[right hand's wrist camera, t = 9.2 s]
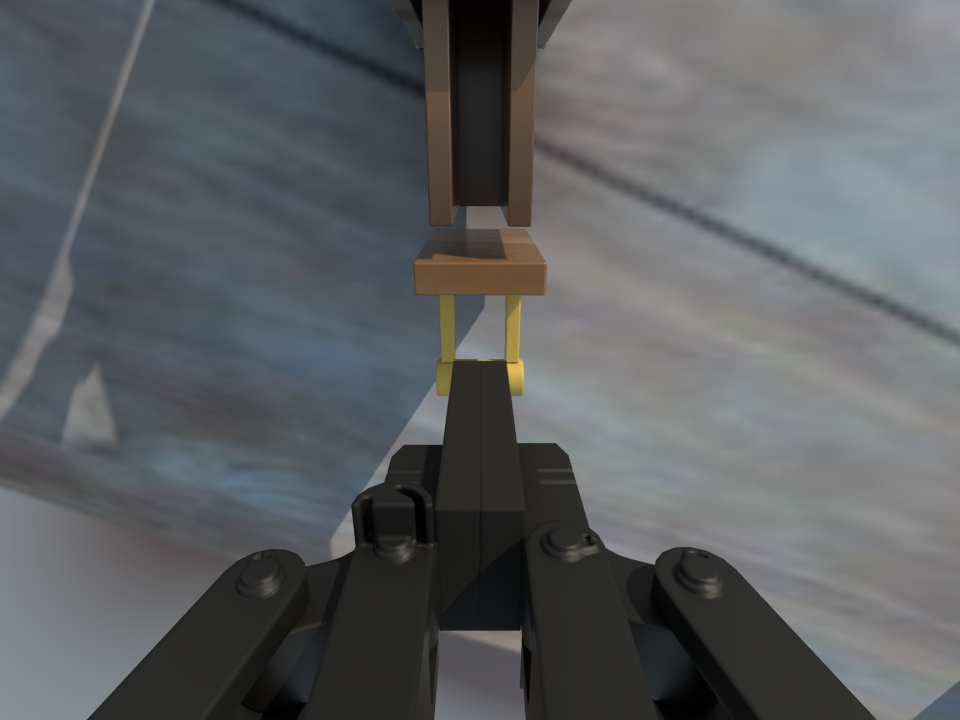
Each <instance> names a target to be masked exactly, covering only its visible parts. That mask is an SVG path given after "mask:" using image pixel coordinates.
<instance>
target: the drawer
mask: <svg viewBox="0 0 960 720" xmlns="http://www.w3.org/2000/svg"><path fill="white" fill-rule="evenodd" d="M422 14H423V44H424V74H425V104H426V133H427V163H428V193H429V223H430V226H452V224H453V222H454V219H455V217H456V214H457V212H458V209H459V207H460V206H501V209H502V212H503V214H504V217H505V219H506V222H507V224H508V226H509V227H529V226H531V210H532V182H533V154H534V126H535V98H536V70H537V42H538V14H539V0H422ZM413 265H414V287H415V294H416V295H439V299H440V334H441V359H439V360H438V361H437V369H436V388H437V395H438V396H449V392H450V384H451V376H452V368H453V361H507V368H508V376H509V384H510V392H511V396H522V395H523V389H524V367H523V361H522V360H521V359H519V340H520V307H521V295H545V293H546V273H547V263H546V261H545V260H544V258H543V257H542V255H541V253H540V252H539V250H538V248H537V247H536V245H535V243H534V242H533V240H532V239H531V237H530V235H529V234H528V232H527V230H525V229H435V230H434V231H433V232H432V234H431V236H430V237H429V239H428V241H427V242H426V244H425V246H424V247H423V249H422V250H421V252H420V254H419V255H418V257H417V259H416V260H415V262H414V264H413ZM454 295H506V317H505V359H455V306H454Z"/></svg>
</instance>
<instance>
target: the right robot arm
mask: <svg viewBox="0 0 960 720" xmlns="http://www.w3.org/2000/svg"><path fill="white" fill-rule="evenodd" d="M351 508H352V517H353V526H354V535H355V544H356V546H355V550H353V551H352V552H350V553H348V554H346V555H345V556H343V557H340V558H337V559H334V560H331V561H328V562H324V563H320V564H316V565H311V566H307V567H305V563H304V561H303V560H302V559H301V558H300V557H299V555H298V554H295V553H293V552H290V551H288V550H280V549H269V550H265V551H261V552H256V553H253V554H251V555H249V556H247V557H245V558H242V559H240V560H238V561H237V562H236V563H234V564H233V565H232V566H231V567H230V568H228V569H227V570H226V571H225V572H224V573H223V574H222V575H221V576H220V577H219V578H218V579H217V580H216V581H215V582H214V584H213V585H212V586H211V587H210V588H209V589H208V590H207V591H206V592H205V593H204V594H203V595H202V596H201V598H200V599H199V600H198V601H197V602H196V603H195V604H194V605H193V606H192V607H191V608H190V609H189V610H188V612H187V613H186V614H185V615H184V616H183V617H182V618H181V619H180V620H179V621H178V622H177V623H176V624H175V626H174V627H173V628H172V629H171V630H170V631H169V632H168V633H167V634H166V635H165V636H164V637H163V638H162V639H161V641H160V642H159V643H158V644H157V645H156V646H155V647H154V648H153V649H152V650H151V651H150V652H149V653H148V655H147V656H146V657H145V658H144V659H143V660H142V661H141V662H140V663H139V664H138V665H137V666H136V667H135V668H134V670H133V671H132V672H131V673H130V674H129V675H128V676H127V677H126V678H125V679H124V680H123V681H122V682H121V684H120V685H119V686H118V687H117V688H116V689H115V690H114V691H113V692H112V693H111V694H110V695H109V697H108V698H107V699H106V700H105V701H104V702H103V703H102V704H101V705H100V706H99V707H98V708H97V709H96V710H95V712H94V713H93V714H92V715H91V716H90V717H89V718H88V719H87V720H434V714H435V702H436V689H437V676H438V663H439V649H438V632H439V630H440V631H521V629H522V648H521V673H520V688H524V701H525V714H526V720H876V719H875V718H874V716H873V715H872V714H871V713H870V712H869V711H868V710H867V709H866V708H865V707H864V706H863V705H862V704H861V703H860V702H859V700H858V699H857V698H856V697H855V696H854V695H853V694H852V693H851V692H850V691H849V690H848V689H847V688H846V687H845V685H844V684H843V683H842V682H841V681H840V680H839V679H838V678H837V677H836V676H835V675H834V674H833V673H832V672H831V671H830V669H829V668H828V667H827V666H826V665H825V664H824V663H823V662H822V661H821V660H820V659H819V658H818V657H817V656H816V654H815V653H814V652H813V651H812V650H811V649H810V648H809V647H808V646H807V645H806V644H805V643H804V642H803V641H802V640H801V638H800V637H799V636H798V635H797V634H796V633H795V632H794V631H793V630H792V629H791V628H790V627H789V626H788V625H787V623H786V622H785V621H784V620H783V619H782V618H781V617H780V616H779V615H778V614H777V613H776V612H775V611H774V610H773V609H772V607H771V606H770V605H769V604H768V603H767V602H766V601H765V600H764V599H763V598H762V597H761V596H760V595H759V594H758V592H757V591H756V590H755V589H754V588H753V587H752V586H751V585H750V584H749V583H748V582H747V581H746V580H745V579H744V578H743V576H742V575H741V574H740V573H739V572H738V571H737V570H736V569H735V568H734V567H732V566H731V565H730V564H729V563H727V562H726V561H725V560H724V559H722V558H720V557H718V556H716V555H714V554H712V553H710V552H708V551H705V550H700V549H696V548H692V547H677V548H672V549H670V550H667V551H665V552H663V553H662V554H661V555H660V556H659V557H658V559H657V560H656V562H655V565H653V564H649V563H645V562H641V561H636V560H632V559H629V558H626V557H623V556H620V555H618V554H616V553H614V552H612V551H610V550H608V549H607V548H605V546H604V544H603V542H602V540H601V539H600V537H599V535H598V534H596V533H595V532H594V531H592V530H591V529H590V528H589V525H588V521H587V518H586V514H585V511H584V508H583V504H582V501H581V497H580V494H579V490H578V487H577V484H576V480H575V477H574V473H573V472H572V466H571V463H570V459H569V456H568V455H567V454H566V453H565V452H564V451H563V450H562V449H561V448H560V447H559V446H558V445H557V444H556V443H517V440H516V432H515V424H514V416H513V408H512V400H511V392H510V384H509V376H508V368H507V361H453V368H452V376H451V384H450V392H449V400H448V408H447V416H446V424H445V432H444V440H443V445H404V446H402V447H401V448H400V449H399V450H398V451H397V452H396V453H395V454H394V455H393V456H392V458H391V461H390V465H389V468H388V474H387V475H386V479H385V482H384V483H381V484H379V485H376V486H373V487H370V488H368V489H367V490H365V491H364V492H362V493H361V494H359V495H358V496H357V497H356V499H355V500H354V502H353V503H352V505H351Z"/></svg>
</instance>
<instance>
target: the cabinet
mask: <svg viewBox="0 0 960 720" xmlns="http://www.w3.org/2000/svg"><path fill="white" fill-rule="evenodd" d="M389 1H390V3H391V4H392V6H393V8H394V9H395V11H396V13H397V15H398V16H399V18H400V20H401V21H402V23H403V25H404V26H405V28H406V30H407V31H408V33H409V35H410V37H411V38H412V40H413V42H414V45H415V46H416V48H417V49H419V48H424V44H423V14H422V0H389ZM571 1H572V0H539V14H538V42H537V48H541V49H544V48H545V46H546V44H547V41H548V40H549V38H550V36H551V35H552V33H553V31H554V30H555V28H556V26H557V25H558V23H559V21H560V20H561V18H562V16H563V15H564V13H565V11H566V10H567V8H568V6H569V5H570V3H571Z"/></svg>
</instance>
